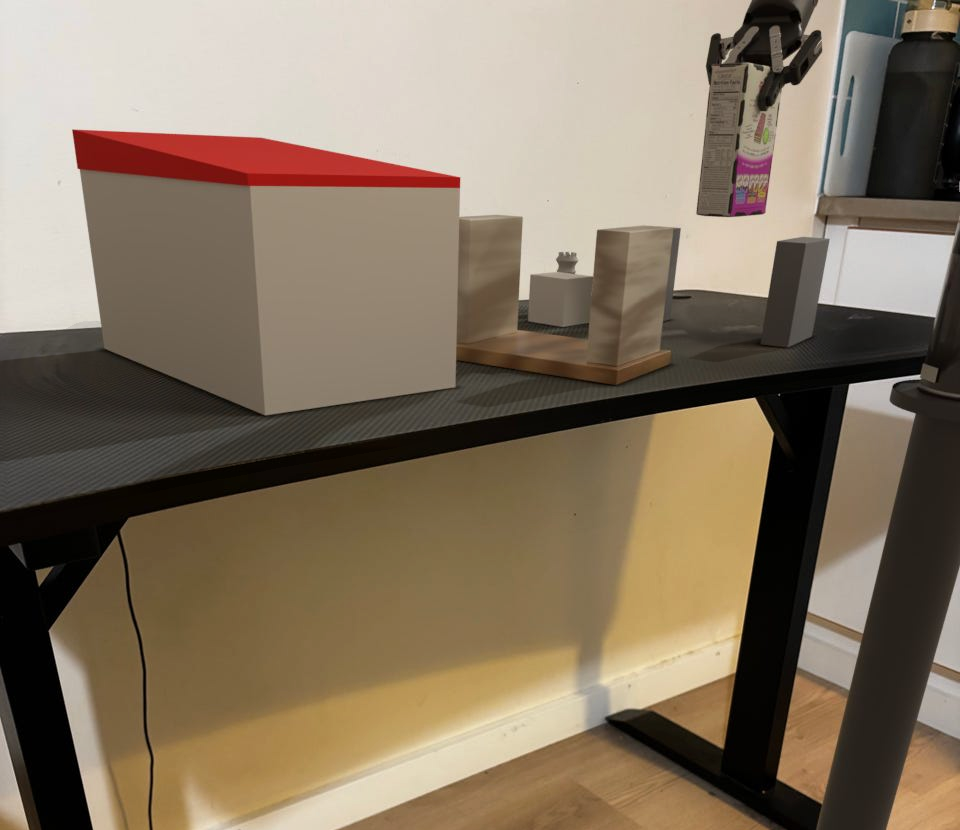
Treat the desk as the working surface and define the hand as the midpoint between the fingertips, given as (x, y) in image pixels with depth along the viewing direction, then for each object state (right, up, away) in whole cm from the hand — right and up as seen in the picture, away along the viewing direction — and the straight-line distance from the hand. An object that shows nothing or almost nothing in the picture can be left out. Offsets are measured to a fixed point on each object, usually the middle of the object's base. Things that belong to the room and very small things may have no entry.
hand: (739, 104), depth 115 cm
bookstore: (-53, -36, -17) cm, 66 cm away
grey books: (0, -23, +13) cm, 26 cm away
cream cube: (-20, -21, +16) cm, 33 cm away
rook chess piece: (-19, -17, +25) cm, 35 cm away
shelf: (-23, -33, -9) cm, 42 cm away
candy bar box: (+1, -10, +7) cm, 13 cm away
